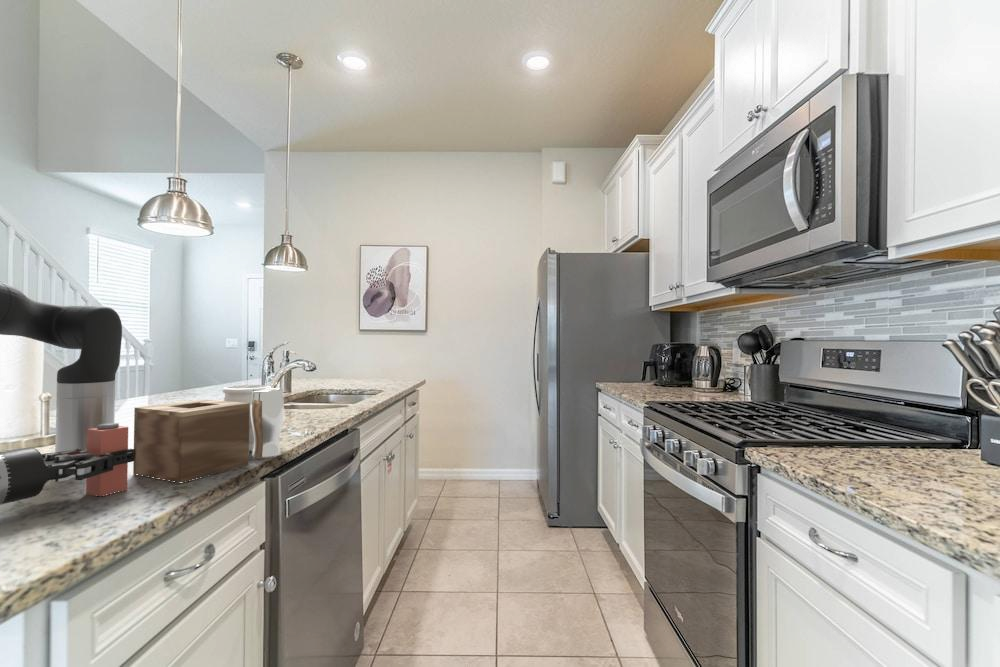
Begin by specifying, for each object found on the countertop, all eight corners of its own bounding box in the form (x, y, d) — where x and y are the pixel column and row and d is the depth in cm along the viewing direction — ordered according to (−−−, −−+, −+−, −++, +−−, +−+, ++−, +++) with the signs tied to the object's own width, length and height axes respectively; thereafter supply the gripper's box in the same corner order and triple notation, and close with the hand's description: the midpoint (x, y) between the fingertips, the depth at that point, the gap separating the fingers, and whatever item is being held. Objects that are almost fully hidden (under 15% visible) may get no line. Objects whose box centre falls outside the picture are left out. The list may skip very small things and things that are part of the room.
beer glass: (269, 460, 101) (270, 391, 101) (241, 458, 102) (242, 390, 102) (289, 453, 108) (290, 388, 108) (263, 451, 109) (264, 387, 109)
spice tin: (86, 493, 78) (87, 425, 79) (113, 487, 82) (114, 421, 82) (100, 497, 77) (101, 427, 77) (127, 490, 81) (128, 423, 81)
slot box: (133, 474, 90) (134, 407, 90) (203, 457, 103) (204, 399, 103) (181, 483, 84) (182, 412, 85) (248, 464, 97) (249, 403, 97)
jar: (234, 444, 116) (234, 384, 116) (276, 443, 117) (277, 384, 118) (212, 454, 106) (213, 389, 106) (259, 453, 107) (260, 388, 107)
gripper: (18, 458, 64) (152, 435, 80) (-32, 449, 69) (102, 428, 85) (17, 513, 64) (151, 479, 80) (-34, 499, 69) (101, 469, 85)
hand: (125, 453), depth 82 cm, fingers closed on spice tin, 4 cm apart
